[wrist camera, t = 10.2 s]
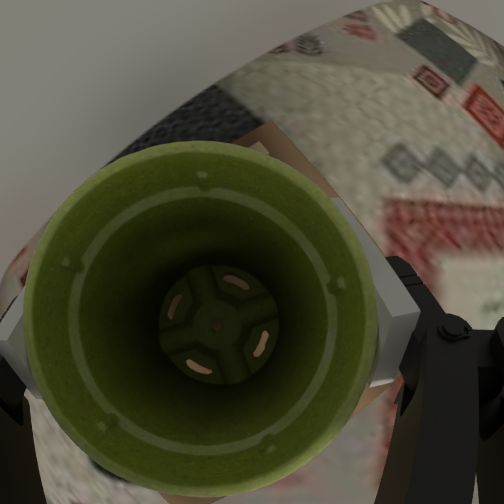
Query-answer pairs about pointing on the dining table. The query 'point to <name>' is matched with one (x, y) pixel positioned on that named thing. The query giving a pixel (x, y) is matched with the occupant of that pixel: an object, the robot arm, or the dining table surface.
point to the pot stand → (284, 150)
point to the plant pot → (200, 318)
